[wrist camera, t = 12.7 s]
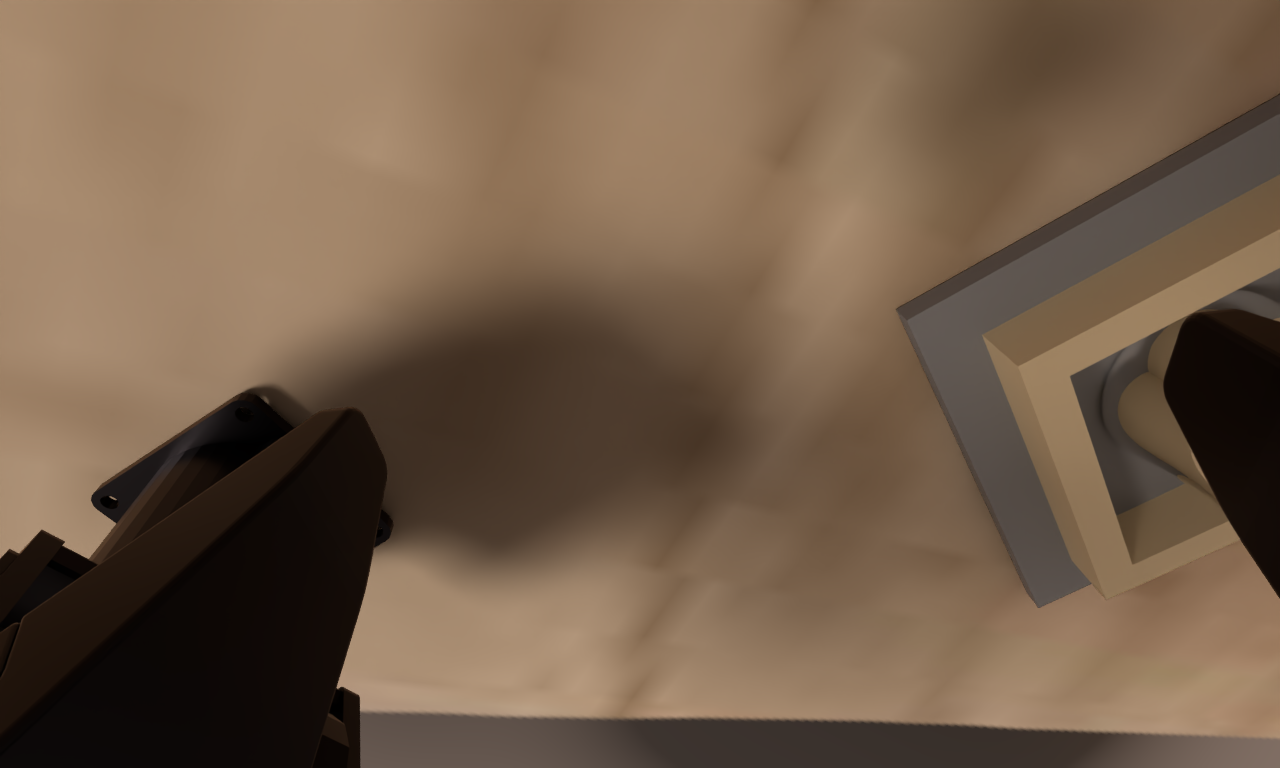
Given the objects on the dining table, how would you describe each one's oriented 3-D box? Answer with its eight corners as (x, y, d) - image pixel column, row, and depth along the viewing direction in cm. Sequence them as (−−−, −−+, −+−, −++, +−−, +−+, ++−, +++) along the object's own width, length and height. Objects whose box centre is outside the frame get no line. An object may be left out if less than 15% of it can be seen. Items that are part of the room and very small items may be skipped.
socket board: (1026, 592, 29) (1069, 649, 27) (895, 309, 22) (937, 351, 20) (1418, 412, 26) (1505, 457, 24) (1411, 21, 19) (1533, 29, 17)
